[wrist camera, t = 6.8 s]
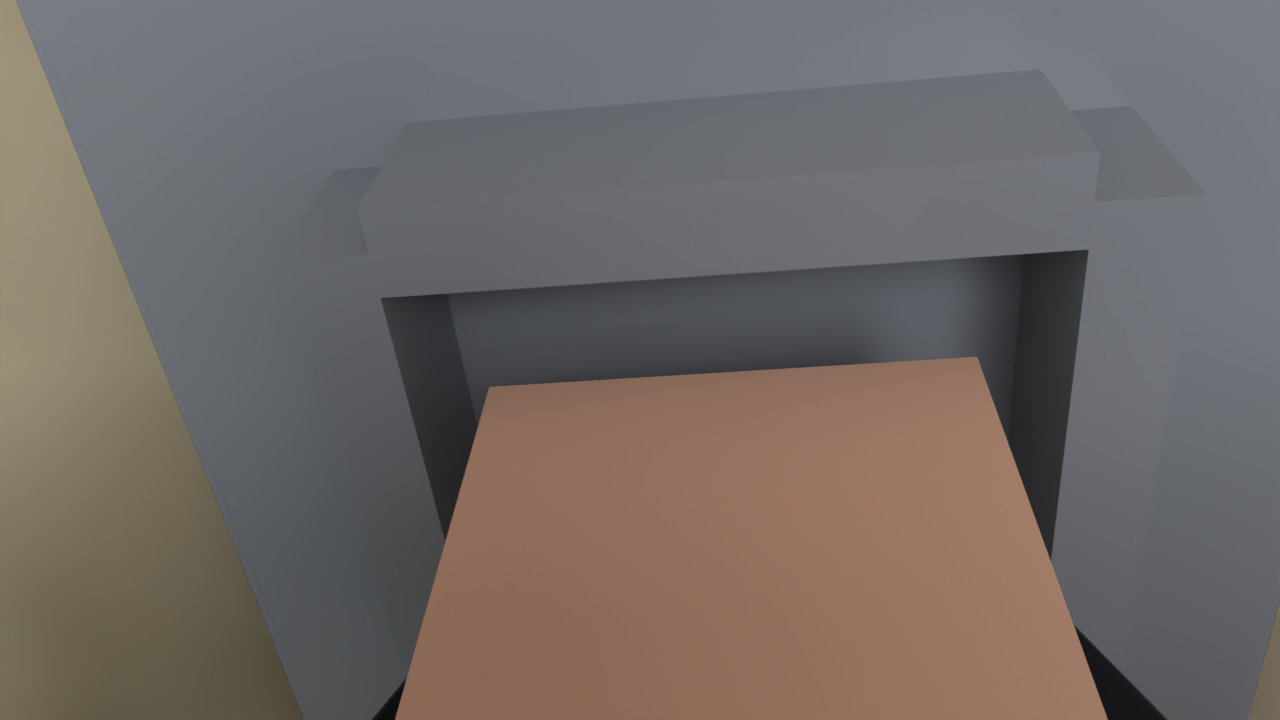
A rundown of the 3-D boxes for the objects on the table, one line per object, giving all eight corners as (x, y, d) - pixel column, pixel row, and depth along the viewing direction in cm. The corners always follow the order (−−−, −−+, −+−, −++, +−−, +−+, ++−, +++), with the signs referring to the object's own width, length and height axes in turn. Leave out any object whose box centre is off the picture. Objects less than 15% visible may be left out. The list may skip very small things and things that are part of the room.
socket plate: (344, 756, 16) (293, 916, 14) (3, -135, 10) (-175, -71, 8) (1215, 732, 15) (1292, 904, 13) (1479, -300, 9) (1708, -272, 7)
